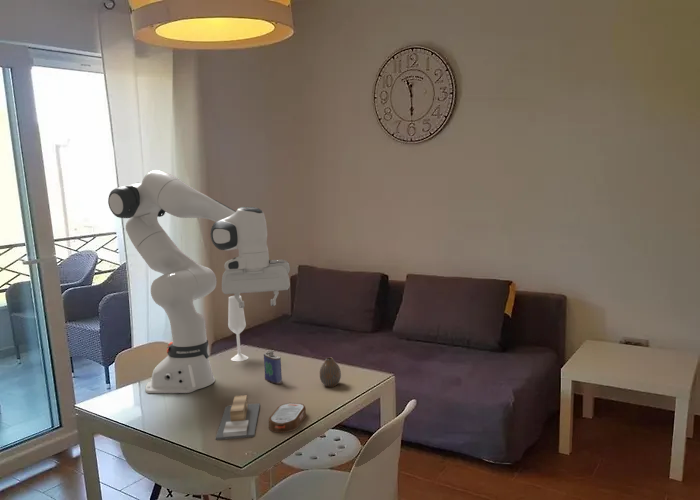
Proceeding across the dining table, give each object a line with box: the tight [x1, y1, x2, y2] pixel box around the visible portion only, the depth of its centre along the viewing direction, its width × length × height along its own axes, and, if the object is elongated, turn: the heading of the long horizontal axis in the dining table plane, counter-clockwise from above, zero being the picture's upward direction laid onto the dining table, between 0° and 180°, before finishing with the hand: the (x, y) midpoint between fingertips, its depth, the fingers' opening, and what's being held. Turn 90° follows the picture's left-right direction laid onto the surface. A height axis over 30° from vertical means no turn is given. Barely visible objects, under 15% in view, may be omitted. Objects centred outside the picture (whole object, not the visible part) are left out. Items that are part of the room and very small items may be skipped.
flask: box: [263, 349, 283, 385], centre depth 197 cm, size 9×3×11 cm, turn 37°
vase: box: [319, 357, 342, 388], centre depth 191 cm, size 7×7×9 cm
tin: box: [268, 402, 307, 434], centre depth 164 cm, size 15×3×8 cm
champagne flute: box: [227, 295, 249, 362], centre depth 224 cm, size 7×7×24 cm
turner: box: [223, 394, 249, 437], centre depth 164 cm, size 19×6×4 cm, turn 5°
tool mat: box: [215, 403, 261, 441], centre depth 165 cm, size 10×22×1 cm, turn 5°
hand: (257, 306), depth 178 cm, fingers open, 8 cm apart
